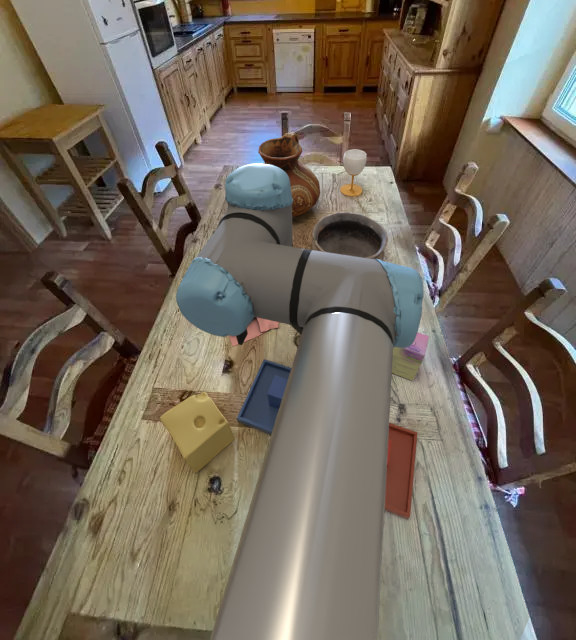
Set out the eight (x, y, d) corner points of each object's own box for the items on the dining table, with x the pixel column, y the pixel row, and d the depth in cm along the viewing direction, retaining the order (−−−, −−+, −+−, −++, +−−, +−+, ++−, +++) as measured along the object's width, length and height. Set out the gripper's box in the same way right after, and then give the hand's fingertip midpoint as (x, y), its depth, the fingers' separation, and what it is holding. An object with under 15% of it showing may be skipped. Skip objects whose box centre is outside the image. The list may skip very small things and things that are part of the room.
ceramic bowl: (296, 268, 110) (295, 232, 99) (341, 237, 120) (345, 201, 109) (348, 308, 97) (354, 272, 87) (394, 270, 107) (404, 234, 97)
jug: (322, 226, 124) (325, 164, 107) (240, 229, 125) (230, 168, 107) (316, 182, 146) (318, 125, 129) (246, 185, 146) (238, 128, 129)
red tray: (407, 519, 63) (410, 517, 61) (327, 486, 67) (328, 483, 65) (415, 435, 73) (417, 432, 71) (345, 411, 77) (346, 407, 75)
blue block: (287, 412, 77) (286, 400, 72) (269, 405, 78) (267, 394, 74) (294, 393, 80) (293, 381, 75) (276, 387, 81) (274, 375, 77)
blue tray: (302, 447, 72) (302, 444, 70) (237, 422, 76) (236, 418, 75) (322, 381, 82) (322, 378, 81) (264, 362, 86) (263, 358, 85)
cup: (338, 194, 139) (341, 158, 128) (342, 182, 145) (346, 147, 134) (360, 197, 137) (365, 161, 125) (364, 186, 143) (369, 150, 132)
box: (417, 361, 85) (429, 335, 77) (413, 381, 81) (425, 356, 73) (376, 346, 88) (383, 320, 80) (370, 365, 85) (377, 339, 76)
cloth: (288, 330, 93) (288, 325, 91) (208, 353, 88) (206, 348, 87) (268, 278, 107) (268, 272, 105) (199, 295, 103) (197, 290, 101)
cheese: (212, 403, 79) (203, 383, 72) (238, 441, 73) (231, 423, 66) (171, 434, 75) (157, 416, 68) (195, 478, 68) (182, 463, 61)
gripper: (360, 272, 48) (346, 351, 62) (204, 236, 54) (225, 315, 69) (347, 313, 43) (336, 389, 57) (178, 268, 49) (207, 346, 64)
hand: (276, 349), depth 63 cm, fingers open, 13 cm apart
